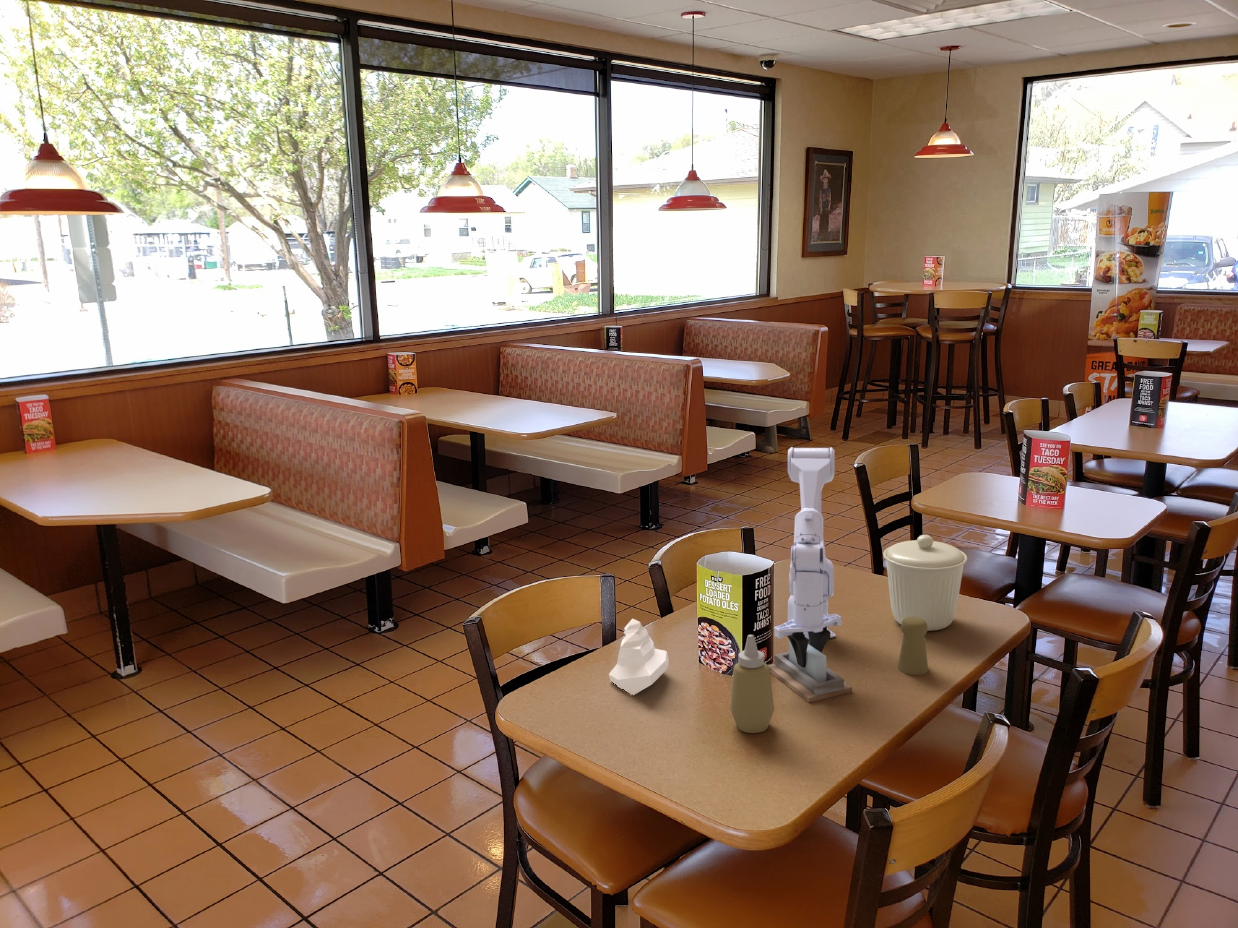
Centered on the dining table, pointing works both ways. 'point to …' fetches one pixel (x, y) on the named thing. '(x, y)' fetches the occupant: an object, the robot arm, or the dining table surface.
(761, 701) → the squeeze bottle
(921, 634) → the cork
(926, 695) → the dining table surface
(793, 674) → the track
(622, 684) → the soft serve ice cream
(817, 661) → the pale blue rectangular brick
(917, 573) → the canister
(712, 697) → the dining table surface
